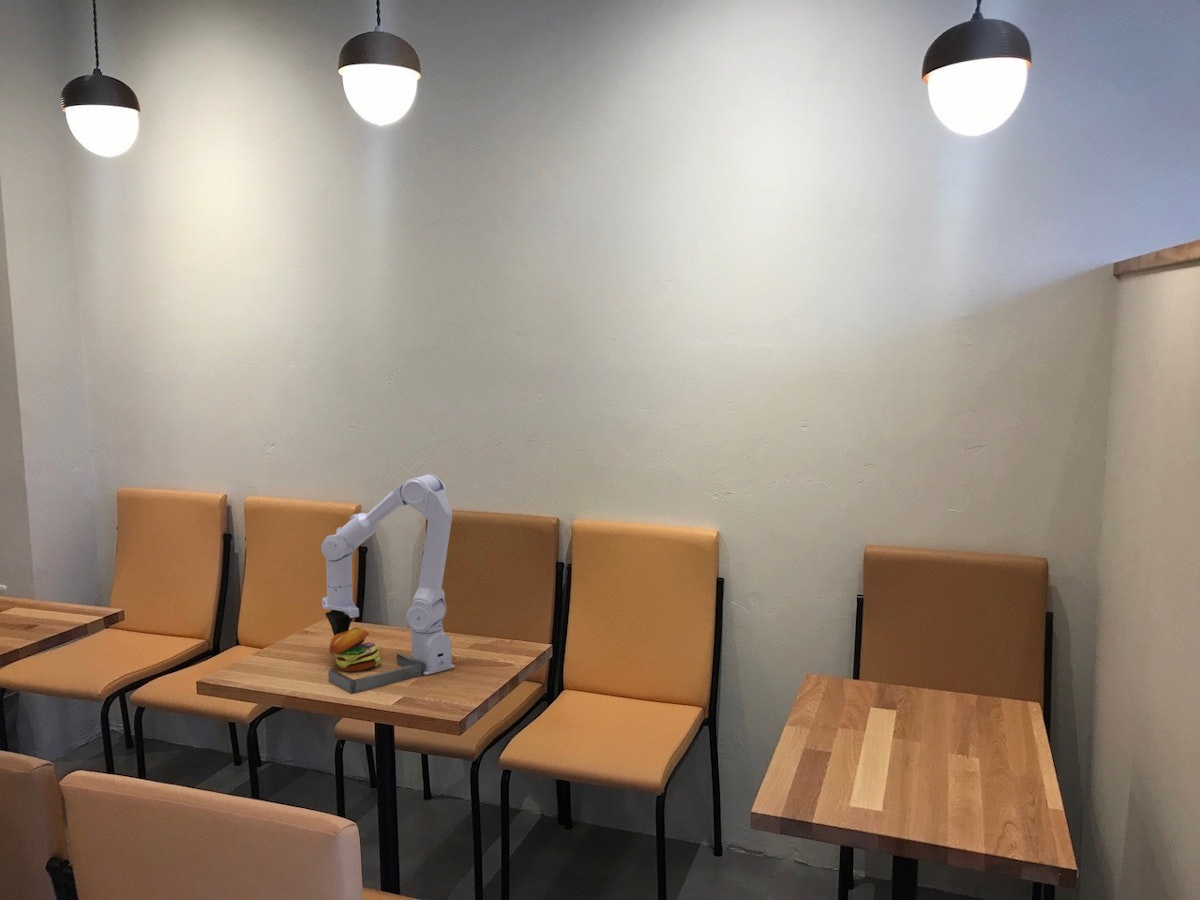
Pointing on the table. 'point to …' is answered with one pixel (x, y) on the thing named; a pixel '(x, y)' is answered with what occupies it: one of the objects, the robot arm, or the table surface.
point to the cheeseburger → (354, 650)
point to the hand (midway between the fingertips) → (340, 641)
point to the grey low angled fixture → (379, 675)
